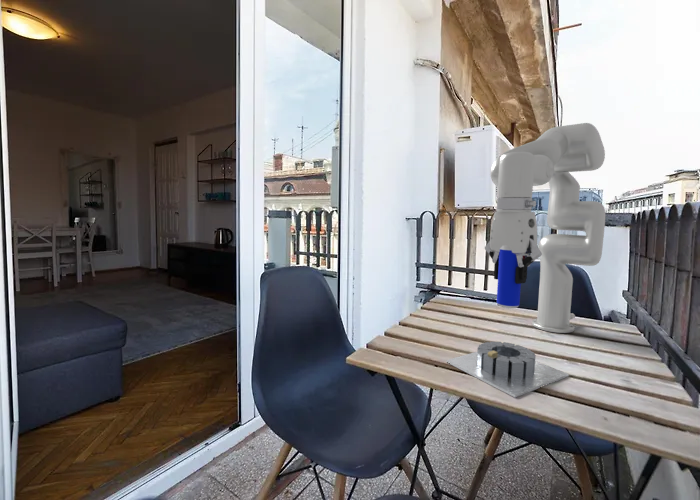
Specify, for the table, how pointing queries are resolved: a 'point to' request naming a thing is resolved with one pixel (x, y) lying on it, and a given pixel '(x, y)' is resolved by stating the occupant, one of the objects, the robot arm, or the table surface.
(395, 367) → the table surface
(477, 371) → the hub
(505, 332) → the table surface
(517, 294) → the beverage can
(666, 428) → the table surface
